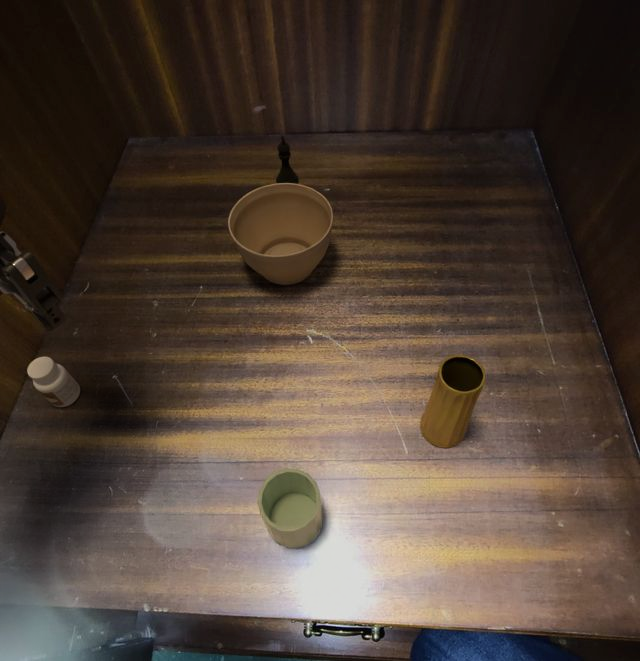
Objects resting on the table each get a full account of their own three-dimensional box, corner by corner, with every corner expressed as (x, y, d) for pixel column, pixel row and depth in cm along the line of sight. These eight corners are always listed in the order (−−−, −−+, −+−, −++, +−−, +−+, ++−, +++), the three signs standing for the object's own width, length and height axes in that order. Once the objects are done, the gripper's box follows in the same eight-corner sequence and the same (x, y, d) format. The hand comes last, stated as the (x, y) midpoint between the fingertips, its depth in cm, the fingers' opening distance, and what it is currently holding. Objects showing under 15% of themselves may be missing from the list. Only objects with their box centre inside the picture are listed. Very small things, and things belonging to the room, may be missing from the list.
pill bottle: (44, 398, 75) (16, 371, 69) (68, 376, 77) (43, 348, 71) (63, 413, 73) (36, 387, 67) (87, 390, 75) (63, 363, 69)
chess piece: (293, 171, 103) (289, 126, 94) (302, 184, 100) (298, 139, 92) (273, 178, 102) (266, 133, 94) (281, 191, 99) (275, 146, 91)
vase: (475, 433, 69) (501, 379, 58) (439, 456, 67) (459, 407, 56) (445, 399, 72) (464, 342, 61) (410, 421, 71) (423, 366, 59)
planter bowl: (221, 263, 89) (207, 215, 80) (293, 219, 95) (288, 169, 86) (279, 318, 82) (271, 272, 73) (353, 266, 87) (354, 218, 78)
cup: (321, 549, 61) (318, 532, 55) (263, 546, 62) (254, 529, 55) (324, 492, 65) (321, 469, 59) (270, 489, 66) (262, 467, 59)
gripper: (-166, 174, 41) (-43, 302, 54) (-64, 240, 36) (44, 363, 49) (-80, 127, 45) (16, 258, 58) (24, 181, 40) (103, 311, 53)
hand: (29, 306), depth 54 cm, fingers open, 8 cm apart
